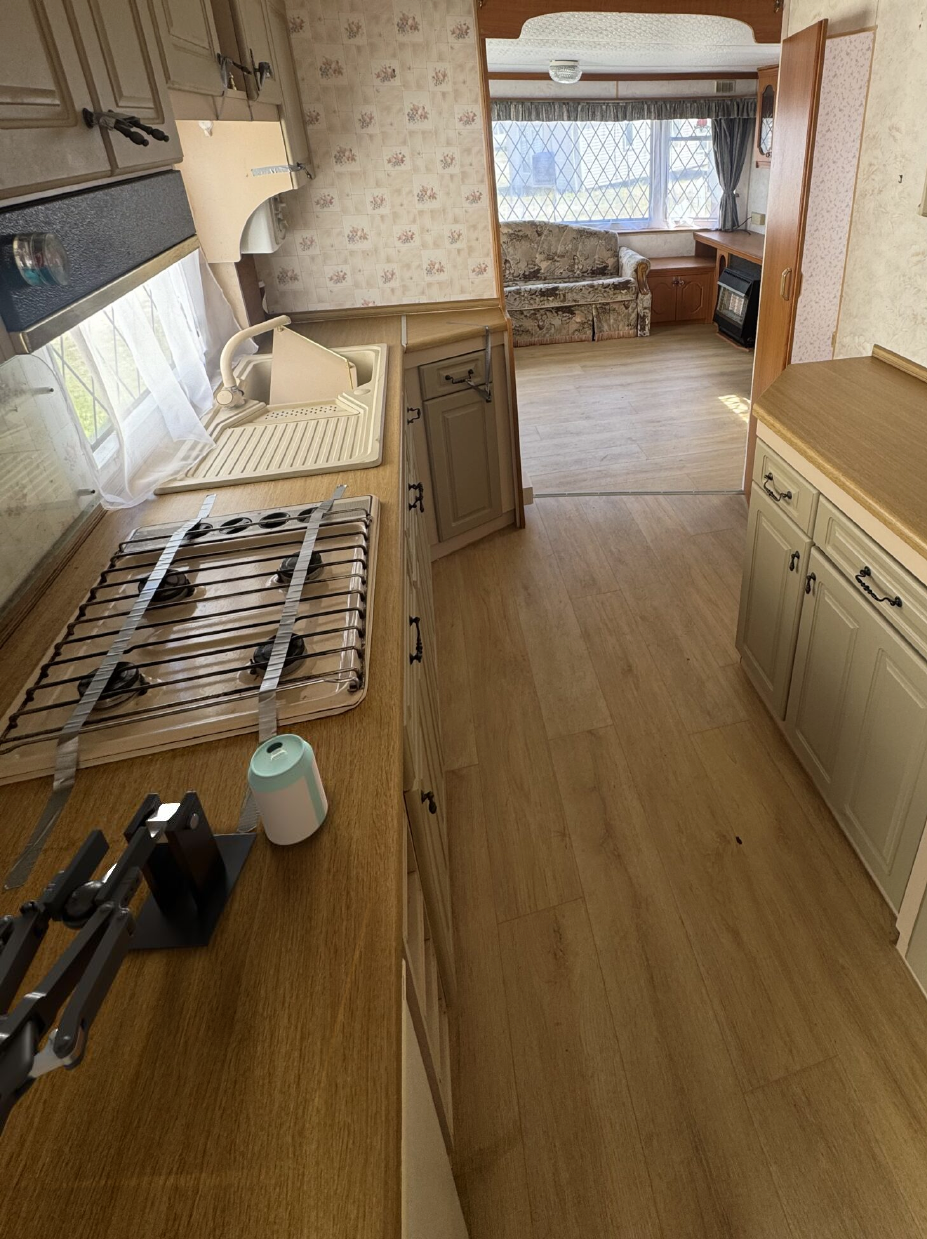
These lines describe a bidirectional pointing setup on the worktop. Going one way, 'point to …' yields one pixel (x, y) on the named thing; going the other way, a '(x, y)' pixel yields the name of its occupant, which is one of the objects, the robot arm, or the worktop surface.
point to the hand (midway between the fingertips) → (124, 837)
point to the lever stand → (186, 876)
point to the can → (287, 789)
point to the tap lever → (81, 898)
